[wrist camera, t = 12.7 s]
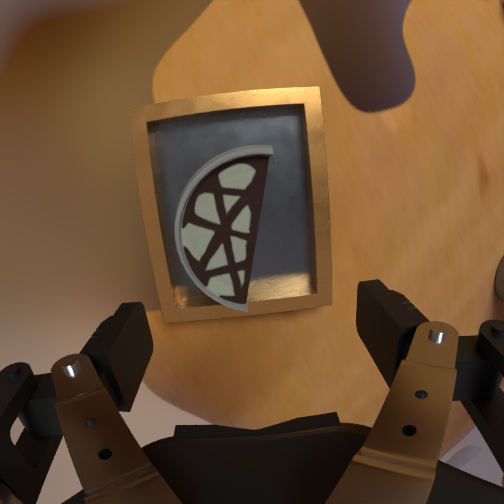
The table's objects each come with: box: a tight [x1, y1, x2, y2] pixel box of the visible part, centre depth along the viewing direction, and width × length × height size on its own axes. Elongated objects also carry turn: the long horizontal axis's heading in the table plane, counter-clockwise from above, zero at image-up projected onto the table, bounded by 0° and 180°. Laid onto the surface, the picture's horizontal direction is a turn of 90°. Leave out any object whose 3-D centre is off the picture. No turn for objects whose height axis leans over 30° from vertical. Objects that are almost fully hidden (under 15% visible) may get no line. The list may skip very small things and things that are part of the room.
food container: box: [175, 145, 273, 312], centre depth 26 cm, size 12×6×10 cm, turn 171°
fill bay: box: [129, 87, 332, 323], centre depth 31 cm, size 17×21×4 cm
